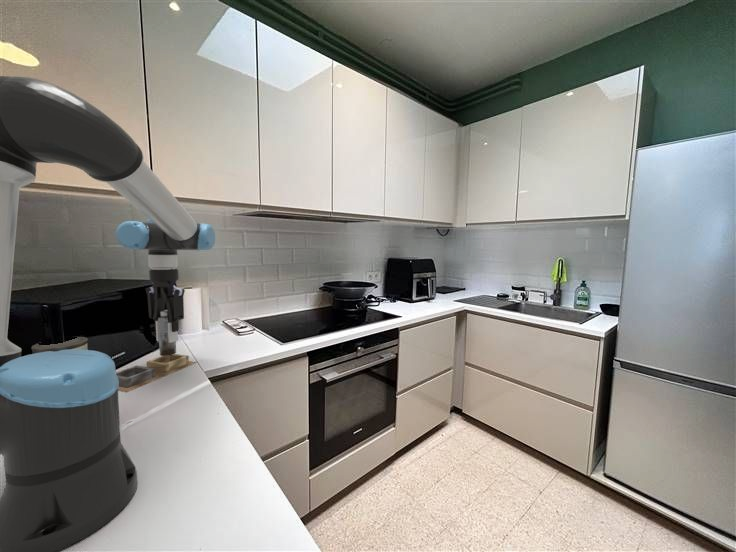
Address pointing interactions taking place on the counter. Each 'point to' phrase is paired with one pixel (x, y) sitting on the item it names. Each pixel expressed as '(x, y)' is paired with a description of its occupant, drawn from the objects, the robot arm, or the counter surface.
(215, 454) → the counter surface
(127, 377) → the tool stand
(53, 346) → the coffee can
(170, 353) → the grey cylinder
